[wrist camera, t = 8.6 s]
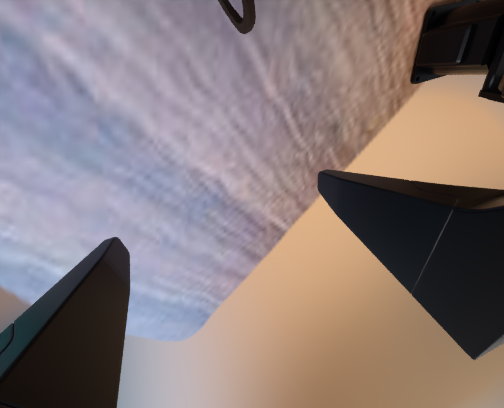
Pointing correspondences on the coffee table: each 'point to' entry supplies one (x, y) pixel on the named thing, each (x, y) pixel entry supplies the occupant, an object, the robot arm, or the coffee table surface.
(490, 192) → the robot arm
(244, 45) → the coffee table surface
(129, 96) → the coffee table surface
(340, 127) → the coffee table surface
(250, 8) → the coffee mug
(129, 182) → the coffee table surface
